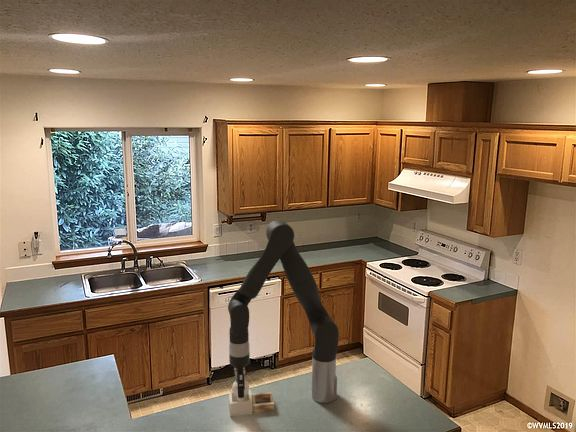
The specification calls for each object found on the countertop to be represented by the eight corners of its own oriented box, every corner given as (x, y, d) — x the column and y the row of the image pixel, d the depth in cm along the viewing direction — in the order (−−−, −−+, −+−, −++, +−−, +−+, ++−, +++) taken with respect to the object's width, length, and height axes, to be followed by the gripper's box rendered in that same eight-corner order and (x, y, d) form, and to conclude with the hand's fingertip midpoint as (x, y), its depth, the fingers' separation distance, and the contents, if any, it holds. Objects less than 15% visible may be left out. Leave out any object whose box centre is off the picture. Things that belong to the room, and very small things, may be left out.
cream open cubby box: (250, 400, 179) (250, 388, 178) (252, 413, 171) (252, 401, 170) (229, 402, 178) (228, 390, 177) (230, 415, 170) (229, 403, 169)
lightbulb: (246, 412, 170) (246, 385, 168) (230, 410, 171) (229, 383, 169) (251, 402, 176) (251, 376, 174) (235, 400, 177) (235, 374, 175)
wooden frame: (271, 398, 180) (271, 391, 180) (274, 410, 173) (274, 403, 172) (251, 400, 179) (251, 393, 179) (253, 413, 171) (253, 405, 171)
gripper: (251, 360, 164) (251, 400, 167) (247, 341, 178) (248, 379, 181) (230, 361, 163) (231, 403, 166) (228, 343, 176) (229, 381, 179)
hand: (240, 390), depth 173 cm, fingers open, 8 cm apart
